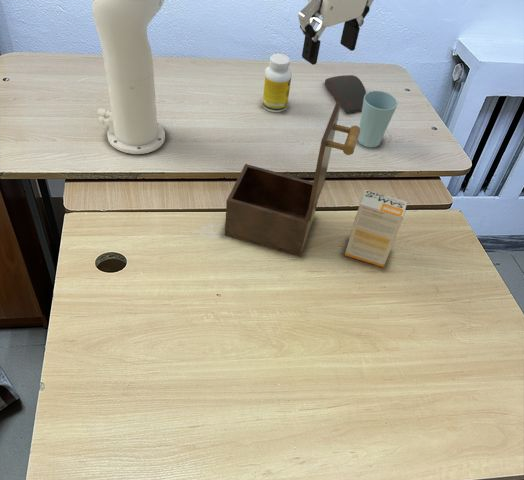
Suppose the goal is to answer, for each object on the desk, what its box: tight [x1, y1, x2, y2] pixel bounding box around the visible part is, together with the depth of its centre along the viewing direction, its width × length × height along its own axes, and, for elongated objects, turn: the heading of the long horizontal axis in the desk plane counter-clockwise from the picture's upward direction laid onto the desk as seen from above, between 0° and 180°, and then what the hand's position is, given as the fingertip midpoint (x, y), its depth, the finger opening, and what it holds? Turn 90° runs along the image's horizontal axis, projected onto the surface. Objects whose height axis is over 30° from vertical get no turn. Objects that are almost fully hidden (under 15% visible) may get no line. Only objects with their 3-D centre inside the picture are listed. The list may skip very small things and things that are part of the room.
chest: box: [224, 163, 319, 257], centre depth 105 cm, size 16×12×9 cm
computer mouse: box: [324, 74, 367, 114], centre depth 137 cm, size 8×14×4 cm, turn 23°
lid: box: [306, 101, 360, 221], centre depth 93 cm, size 16×12×5 cm
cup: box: [357, 90, 399, 148], centre depth 124 cm, size 8×8×10 cm
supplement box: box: [344, 189, 408, 268], centre depth 101 cm, size 8×5×13 cm, turn 71°
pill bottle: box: [261, 53, 292, 113], centre depth 128 cm, size 6×6×12 cm
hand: (328, 53), depth 95 cm, fingers open, 9 cm apart
